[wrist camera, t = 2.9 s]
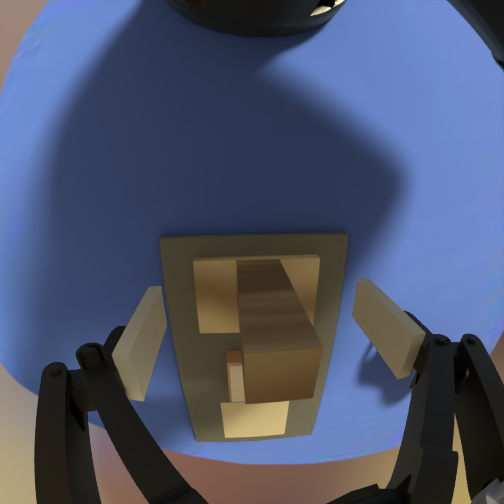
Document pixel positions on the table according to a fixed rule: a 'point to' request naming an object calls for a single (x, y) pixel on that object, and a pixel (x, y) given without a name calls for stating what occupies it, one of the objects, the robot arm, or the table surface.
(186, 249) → the taupe mat
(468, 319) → the table surface
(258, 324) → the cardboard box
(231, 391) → the cream square tile
